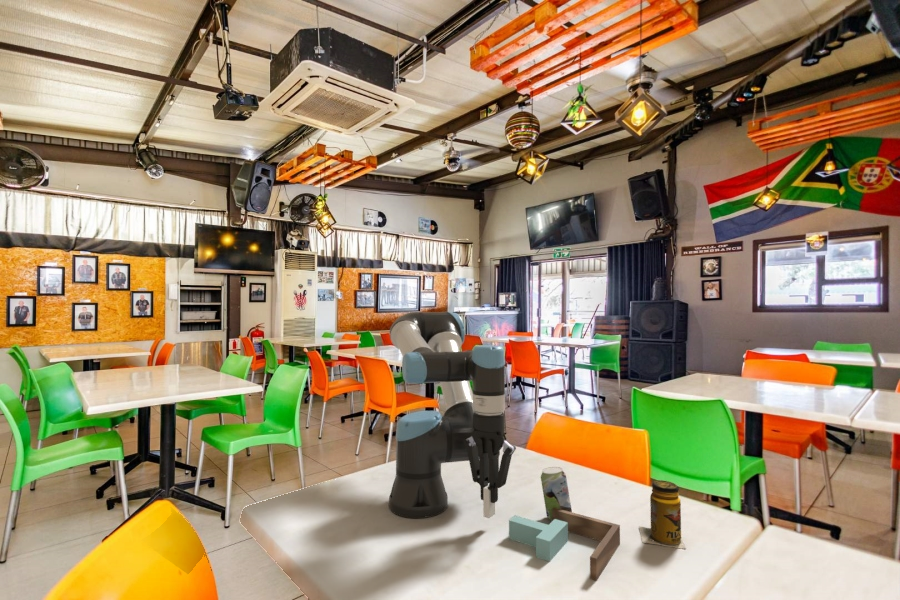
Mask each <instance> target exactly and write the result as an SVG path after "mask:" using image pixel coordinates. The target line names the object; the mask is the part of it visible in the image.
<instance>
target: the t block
mask: <svg viewBox="0 0 900 600" xmlns="http://www.w3.org/2000/svg"><path fill="white" fill-rule="evenodd" d="M508 539H509V540H512V541H516V542H518V543H522V544H525V545H528V546H531V547H534V548H535V558H537V559H541V560H543V561H547V562H551V561H552V560H553V559H554V558H555V557H556V555H558V554H559V552H560V551H561V550H562V549H563V548H564V546H565V545H567V543H568V541H569V532H568V522H564V521H561V520H557V519H554V520H553V521H551V522H550V523H549V524H547V523H543V522H539V521H537V520H534V519H533V520H532V519H530V518H526V517H522V516H519V515H514V516H512V517H511V518H510V519H509V520H508Z"/></svg>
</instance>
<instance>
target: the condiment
mask: <svg viewBox="0 0 900 600" xmlns="http://www.w3.org/2000/svg"><path fill="white" fill-rule="evenodd" d="M651 486H652V488H651V494H650V499H649V500H650V501H649V502H650V527H646V526H638V529H639V533H640V534H639V535H640V537H641V542H642V543H643V544H650V545H651V544H652V545H659V546H663V547H667V548H668V547H670V548H675V549H677V548H678V549H682V550H684V549H686V546H685V543H684V540H683V538H682V516H681V515H682V514H681V513H682V511H681V509H682V508H681V507H682V506H681V498H680V497H679V496H680V495H679V491H680V490H679V486H678V485H677V484H676V483H674V482H672V481H669V480H668V481H667V480H662V479H661V480H655V481H653V482H652V483H651Z"/></svg>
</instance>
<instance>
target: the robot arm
mask: <svg viewBox="0 0 900 600" xmlns="http://www.w3.org/2000/svg"><path fill="white" fill-rule="evenodd" d="M465 337H466V331H465V324H464V321H463V319H462V317H461V316H460V315H459V314H458V313H456V312H449V311H443V312H441V311H440V312H438V311H435V312H434V311H432V312H431V311H427V312H426V311H425V312H424V311H421V312H419V311H412V312H408V313H405V314H403V315H401V316H399V317H397V318H396V319H395V320H394V321H393V322H392V324H391V326H390V329H389V339H390V341H391V343H392V345H393V346H394V347H395V348H396V349H398V350H399V351H400V353H401V355H402V362H401V373H402V378H403V381H404V382H405V383H407V384H418V385H421V384H430V383H431V384H432V383H439V385H440V388H441V393H442V397H443V401H444V404H445V409H446V410H445V411H444V412H443V415H442V414H441V412H439V411H437V410H420V411H414V412H411V413H407V414H405V415H403V416H402V417H400V418H399V419H398V420H397V423H396V431H395V441H396V442H395V445H396V446H395V447H396V448H395V450H396V451H395V464H396V465H395V477H394V480H393V484H392V487H391V491H390V493H389V498H388V509H389V511H390V512H392V513H393V514H395V515H397V516H400V517H404V518H409V519H421V518H422V519H423V518H430V517H434V516H437V515H440V514H441V513H442V512H445V510H447V508H448V505H449V504H448V503H449V501H448V500H449V499H448V498H449V497H448V493H447V491H446V488H445V483H444V480H443V477H442V464H447V463H459V462H467V461H468V462H469V467H470V472H471V478H472V481H473V483H477V484H478V485H479V486H480V500H481V501H483V504H482V505H483V518H486V519H490V518H491V517H493V516H494V515H496V502H498V499H499V489H500V488H502V487H503V486H505V485H506V483H507V479H508V475H509V470H510V465H511V461H512V455H513V454H514V453H515V452H516V449H517V448H516V445H515V444H510V443H509V442H508V441H507V436H506V434H505V429H506V414H505V413H504V411H506V391H505V389H506V387H505V386H506V384H505V383H506V377H505V376H506V371H505V370H506V368H505V367H506V359H505V349H504V348H503V346H501V345H492V344H491V345H490V344H489V345H488V344H487V345H485V344H483V345H481V344H480V345H475V346H474V347H472V349H468V350H463V351H461V348H462V345H463V344H464V342H465ZM470 382H472V385H471V383H470ZM471 386H472V387H471ZM501 449H502V452H503V454H502V456H501V459H500V458H499V457H500V455H501V453H500V452H501ZM499 460H500V461H499Z"/></svg>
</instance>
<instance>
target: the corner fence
mask: <svg viewBox="0 0 900 600" xmlns="http://www.w3.org/2000/svg"><path fill="white" fill-rule="evenodd" d="M554 519H557V520H561V521H564V522H568V533H572V534H575V535H579V536H583V537H586V538H589V539H593V540H595V541H599V544H598V545H597V546H596V548H595V549H594V551H593V552H592V554H591V555H590V556H589V577H590V578H589V579H591V580H594V581H596V582H597V581H598V579H599V578H600V576H601V574H602V573H603V572H604V570H605V568H606V566H607V565H608V564H609V562H610V560H611V559H612V557H613V555H614V554H615V552H616V551H617V550H618V548H619V547H620V545H621V525H620V524H617V523H614V522H610V521H606V520H601V519H598V518H594V517H591V516H587V515H584V514H579V513H575V512H569V511H565V510H561V509H557V508H553V509H552V521H553V520H554ZM552 521H551V522H552Z"/></svg>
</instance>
